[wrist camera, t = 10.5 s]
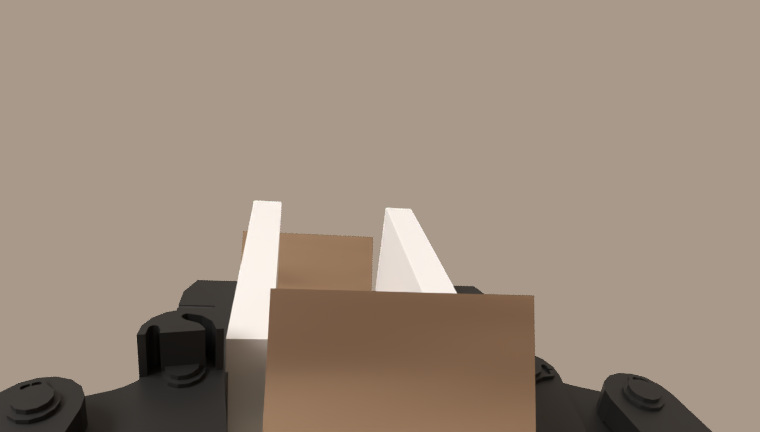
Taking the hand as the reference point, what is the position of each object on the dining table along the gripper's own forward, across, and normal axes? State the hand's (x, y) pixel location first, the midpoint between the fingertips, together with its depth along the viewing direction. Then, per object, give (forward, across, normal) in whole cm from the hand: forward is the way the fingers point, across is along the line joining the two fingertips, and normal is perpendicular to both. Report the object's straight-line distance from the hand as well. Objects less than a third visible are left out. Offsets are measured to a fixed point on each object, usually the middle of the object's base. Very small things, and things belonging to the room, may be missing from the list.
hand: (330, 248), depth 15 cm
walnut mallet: (+2, 0, -6) cm, 7 cm away
